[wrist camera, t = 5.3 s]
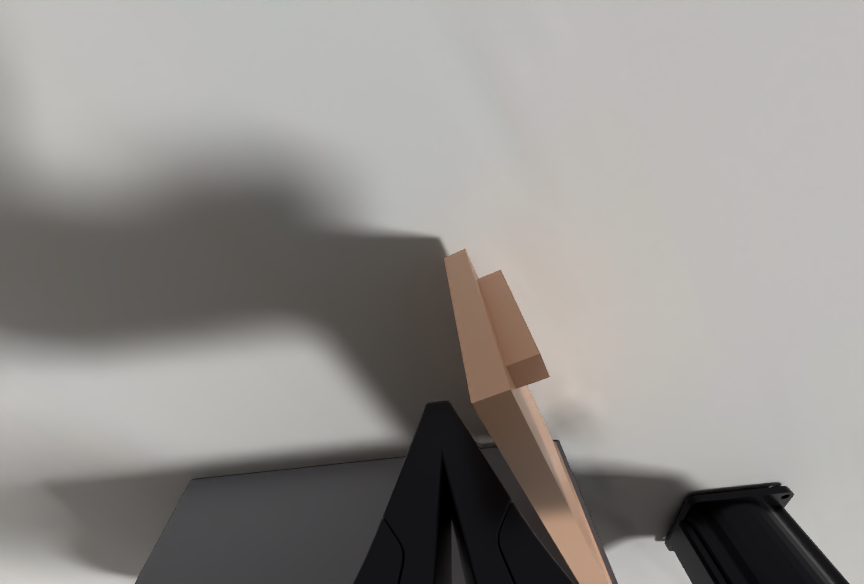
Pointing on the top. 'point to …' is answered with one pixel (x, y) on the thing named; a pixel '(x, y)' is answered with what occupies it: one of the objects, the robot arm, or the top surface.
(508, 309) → the side door
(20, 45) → the top surface
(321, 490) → the block
